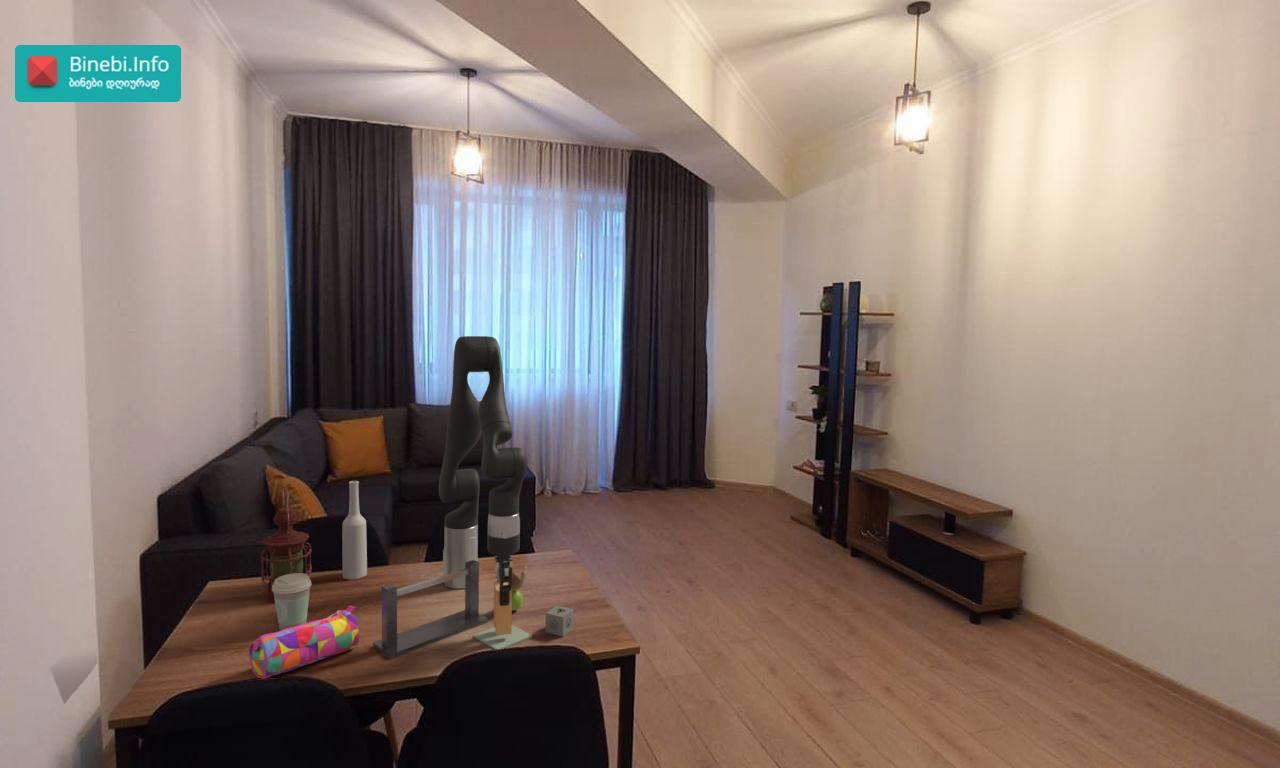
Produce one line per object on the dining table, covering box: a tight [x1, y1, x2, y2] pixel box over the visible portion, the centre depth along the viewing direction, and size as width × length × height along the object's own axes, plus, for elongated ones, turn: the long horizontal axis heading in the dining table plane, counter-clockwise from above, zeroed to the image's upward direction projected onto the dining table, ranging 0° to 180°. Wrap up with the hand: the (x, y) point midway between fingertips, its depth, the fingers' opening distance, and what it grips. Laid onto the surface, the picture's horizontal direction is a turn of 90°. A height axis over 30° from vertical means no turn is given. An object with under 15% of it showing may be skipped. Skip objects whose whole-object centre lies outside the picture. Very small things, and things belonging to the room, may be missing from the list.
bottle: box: [341, 480, 368, 580], centre depth 192 cm, size 7×7×28 cm
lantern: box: [259, 484, 313, 603], centre depth 177 cm, size 12×12×30 cm
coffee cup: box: [272, 573, 312, 631], centre depth 160 cm, size 9×9×12 cm
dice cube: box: [545, 605, 575, 638], centre depth 163 cm, size 5×5×5 cm
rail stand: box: [372, 560, 489, 660], centre depth 158 cm, size 8×26×15 cm, turn 138°
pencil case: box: [248, 605, 360, 679], centre depth 145 cm, size 22×9×9 cm, turn 143°
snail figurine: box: [511, 566, 527, 612], centre depth 173 cm, size 5×6×12 cm
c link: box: [493, 581, 513, 635], centre depth 158 cm, size 5×4×11 cm, turn 18°
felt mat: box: [472, 624, 533, 651], centre depth 159 cm, size 10×10×1 cm
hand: (503, 599), depth 158 cm, fingers closed on c link, 5 cm apart
